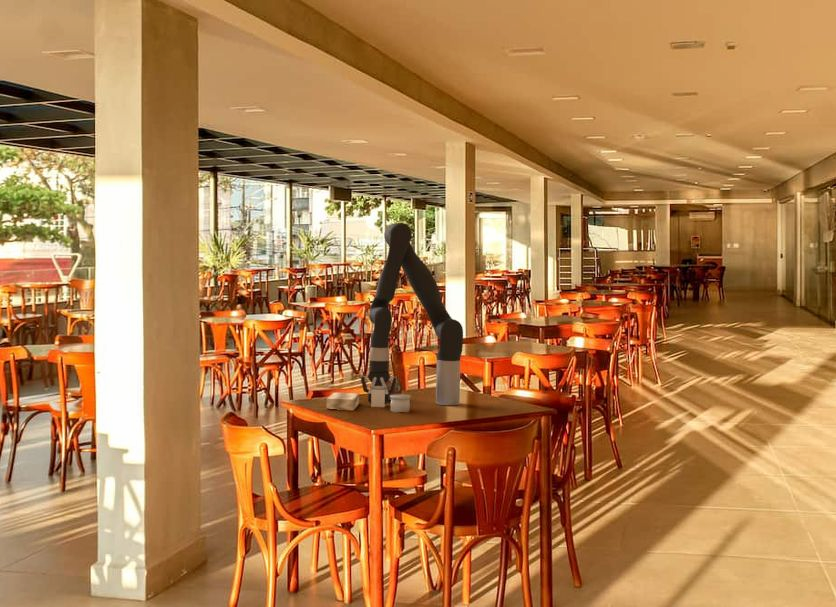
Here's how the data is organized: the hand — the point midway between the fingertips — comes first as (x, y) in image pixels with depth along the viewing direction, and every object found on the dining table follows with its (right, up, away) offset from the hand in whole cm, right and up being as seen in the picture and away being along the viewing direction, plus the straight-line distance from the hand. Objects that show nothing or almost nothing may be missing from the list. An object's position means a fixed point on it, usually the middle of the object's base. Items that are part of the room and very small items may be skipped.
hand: (378, 403), depth 356 cm
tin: (+3, -1, +15) cm, 15 cm away
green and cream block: (0, -1, 0) cm, 1 cm away
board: (-13, -1, -3) cm, 14 cm away
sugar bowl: (+8, -2, -10) cm, 14 cm away
